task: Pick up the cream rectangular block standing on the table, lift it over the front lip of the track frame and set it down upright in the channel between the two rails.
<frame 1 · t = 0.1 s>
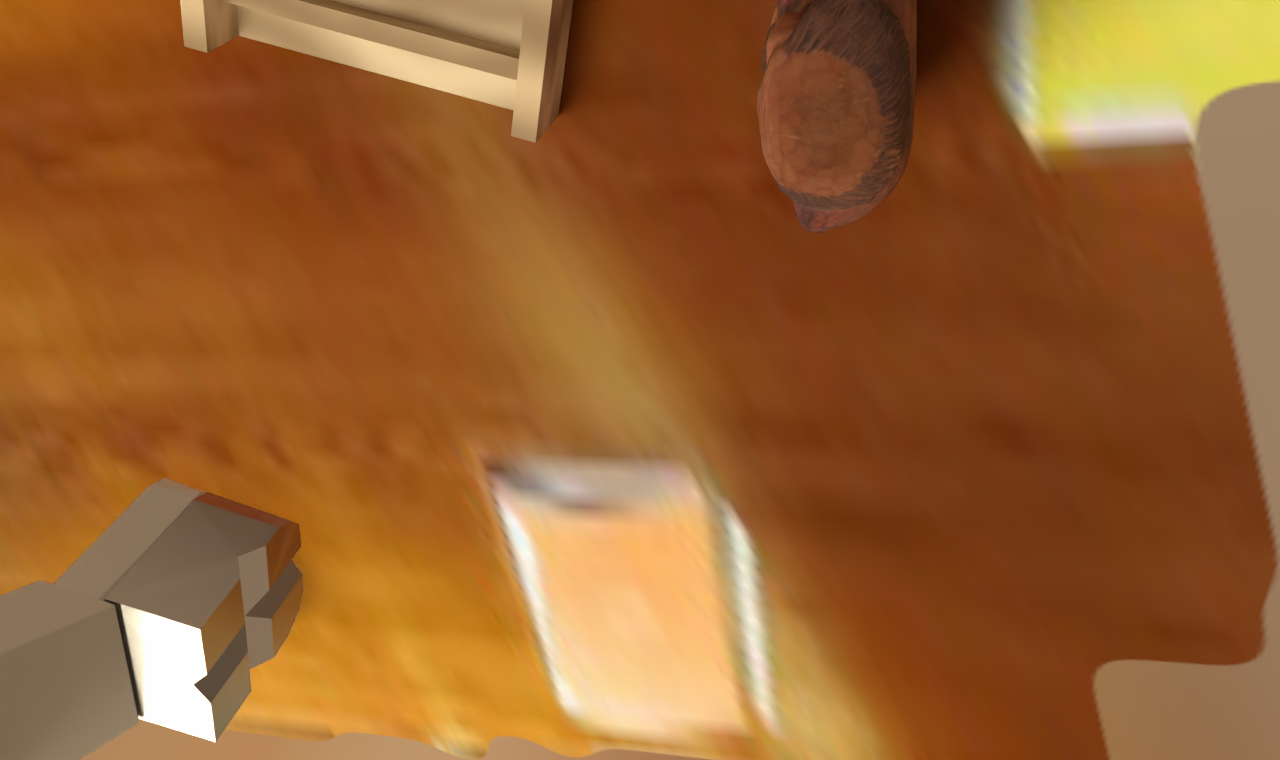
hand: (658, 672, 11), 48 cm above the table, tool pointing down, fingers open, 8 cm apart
wooden figurine: (859, 3, 53), on the table
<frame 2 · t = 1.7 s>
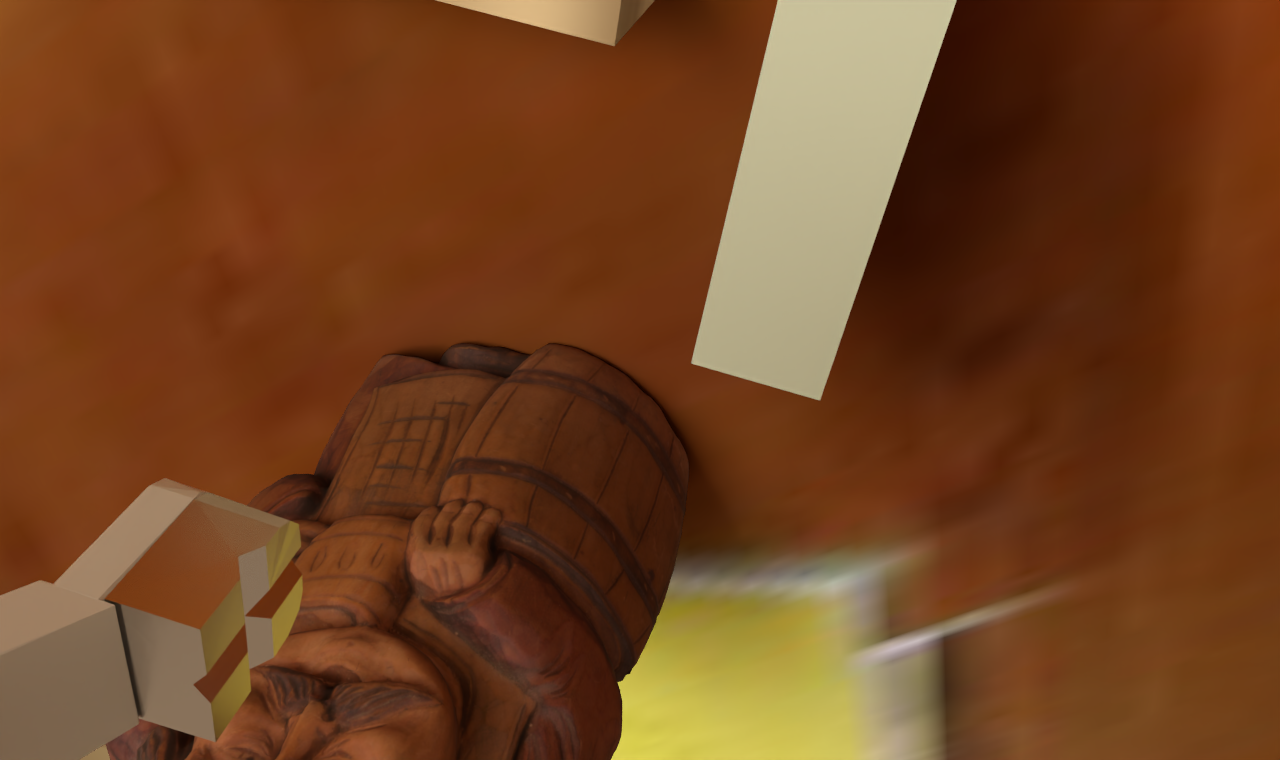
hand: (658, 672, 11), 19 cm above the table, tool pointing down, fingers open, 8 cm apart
wooden figurine: (529, 414, 36), on the table
cream rectangular block: (847, 67, 26), on the table
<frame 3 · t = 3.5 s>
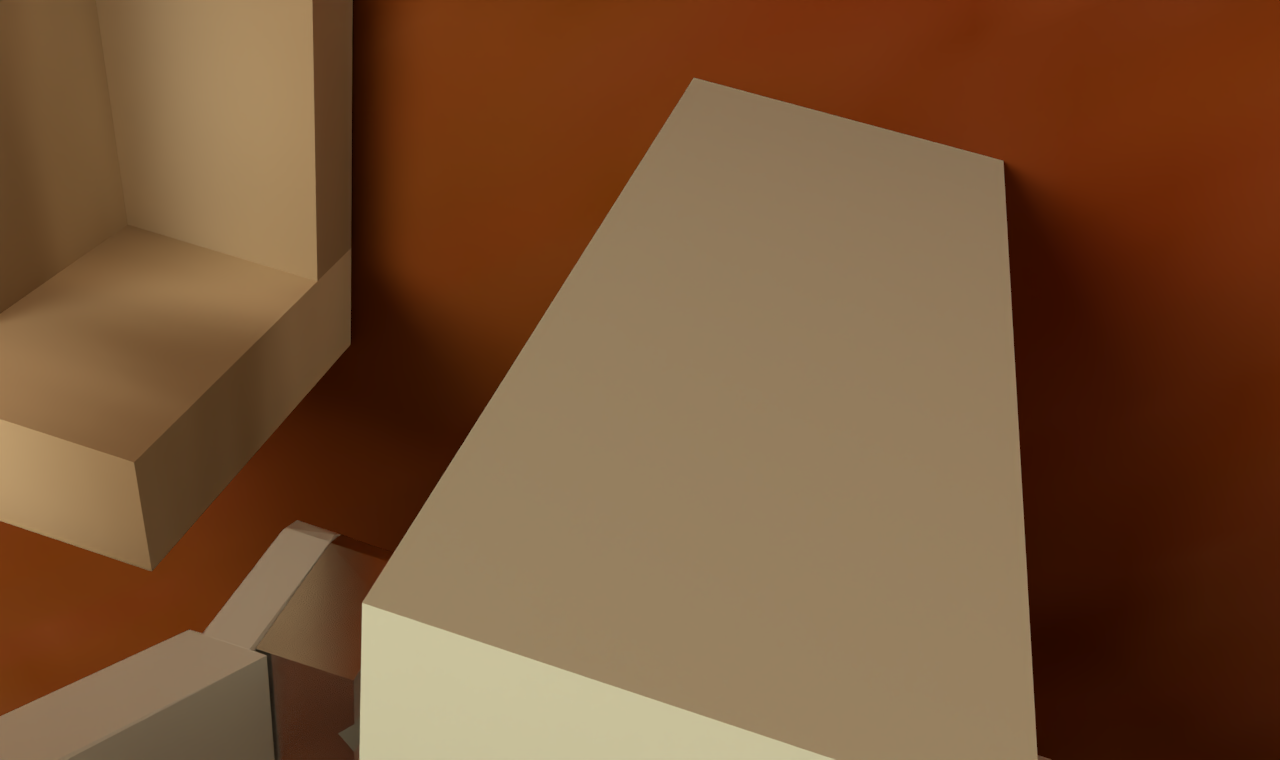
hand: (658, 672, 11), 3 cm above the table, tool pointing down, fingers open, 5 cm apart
cream rectangular block: (730, 492, 13), on the table
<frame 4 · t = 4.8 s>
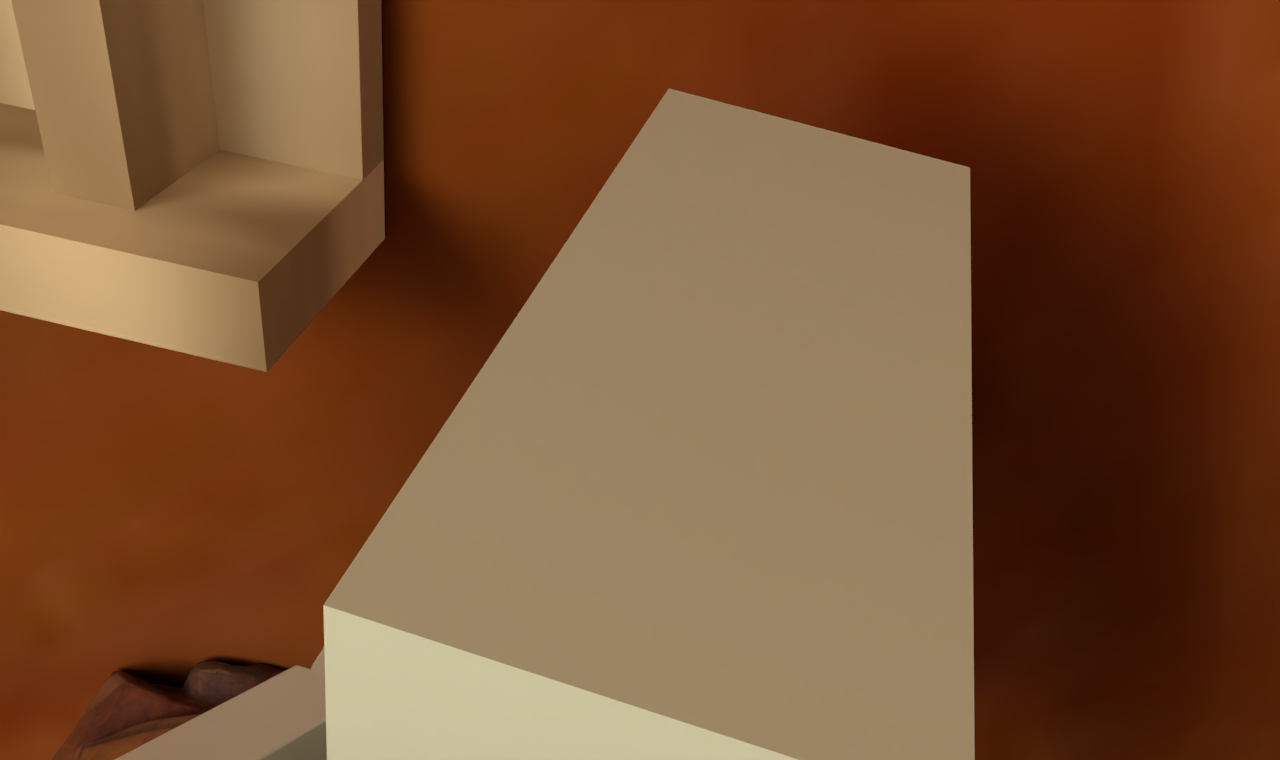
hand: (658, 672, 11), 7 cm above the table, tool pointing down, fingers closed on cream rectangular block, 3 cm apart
wooden figurine: (320, 735, 26), on the table
cream rectangular block: (710, 497, 13), point 4 cm above the table, touching gripper
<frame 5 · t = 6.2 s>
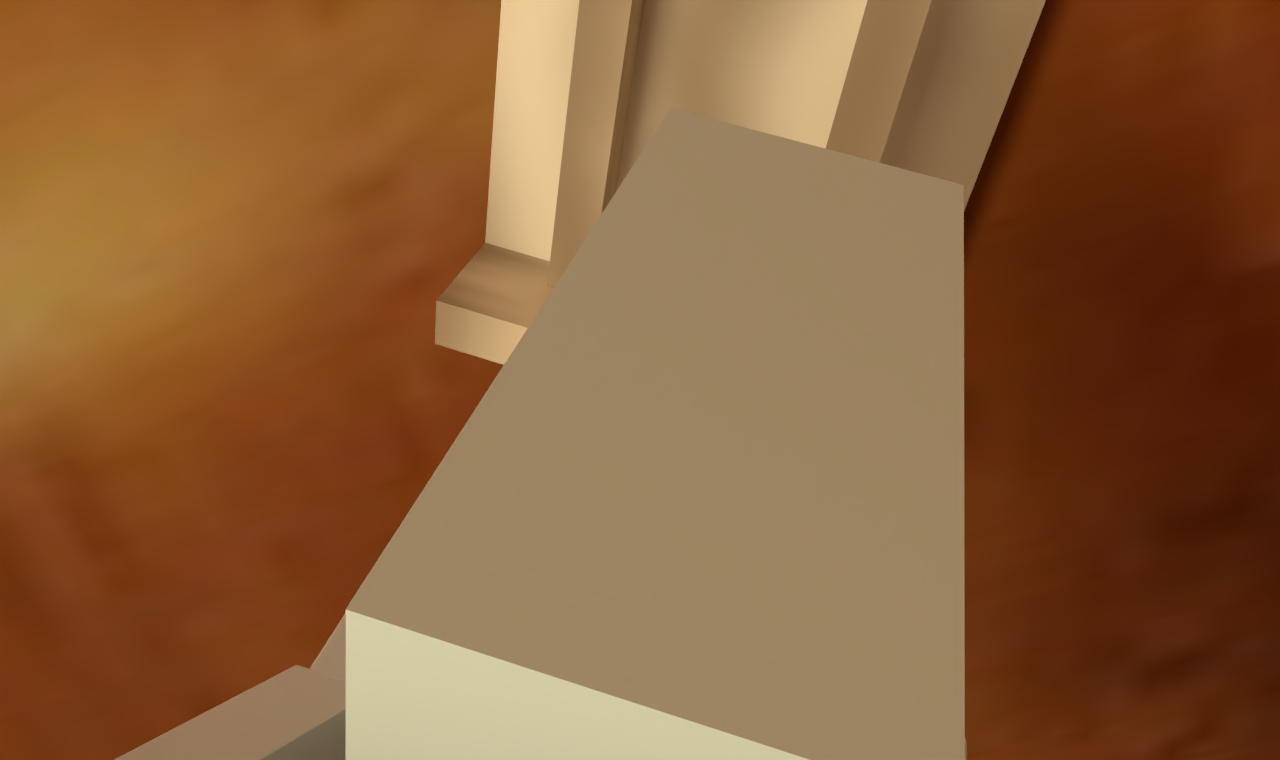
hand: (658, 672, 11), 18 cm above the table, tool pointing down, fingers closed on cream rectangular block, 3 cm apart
cream rectangular block: (711, 506, 13), point 15 cm above the table, touching gripper
when the fingers open (5 cm above the table, at t = 8.5 s): cream rectangular block drops 1 cm, resting on track frame.
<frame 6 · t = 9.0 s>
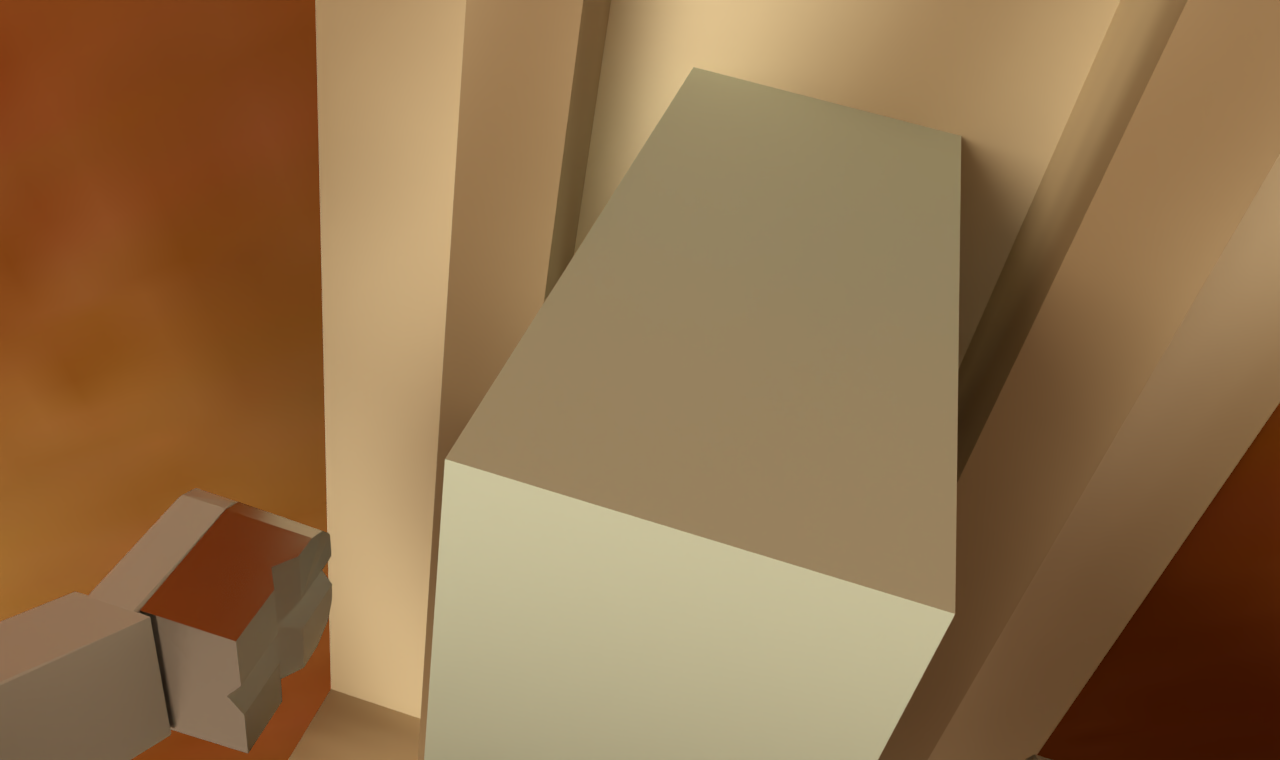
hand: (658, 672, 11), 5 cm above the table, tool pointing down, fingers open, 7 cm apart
cream rectangular block: (727, 442, 15), point 1 cm above the table, touching track frame
track frame: (740, 391, 15), on the table
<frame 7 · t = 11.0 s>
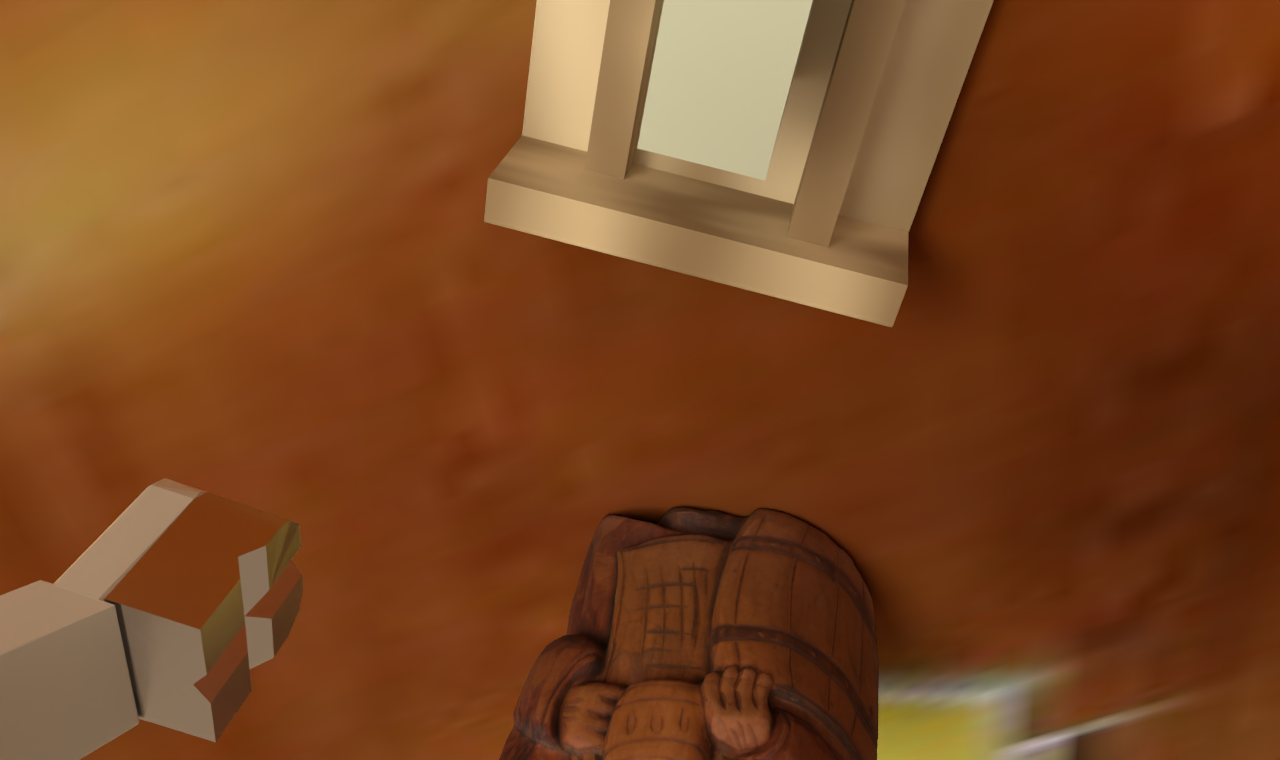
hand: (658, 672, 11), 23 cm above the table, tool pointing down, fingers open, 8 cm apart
wooden figurine: (730, 560, 42), on the table
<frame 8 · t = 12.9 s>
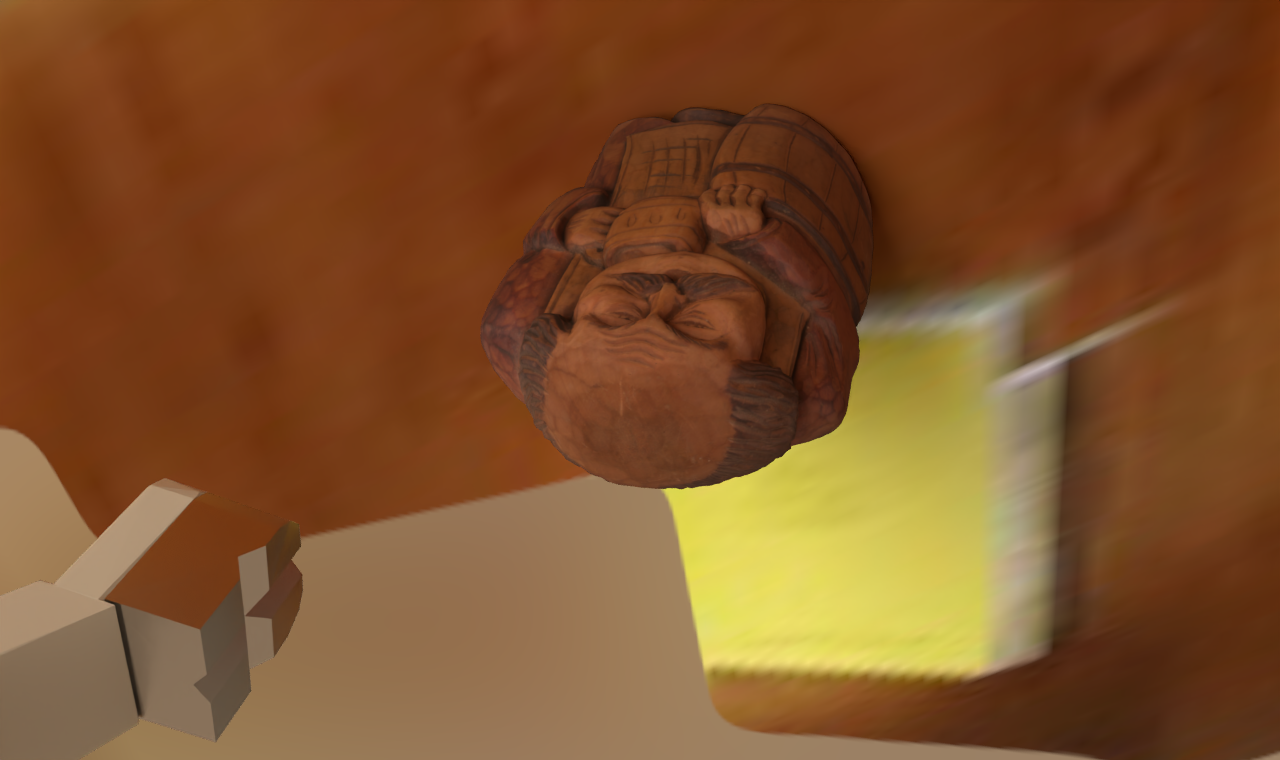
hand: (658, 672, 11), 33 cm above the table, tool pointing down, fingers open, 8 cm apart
wooden figurine: (735, 173, 44), on the table
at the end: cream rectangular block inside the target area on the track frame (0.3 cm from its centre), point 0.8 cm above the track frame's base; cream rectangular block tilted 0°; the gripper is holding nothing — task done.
